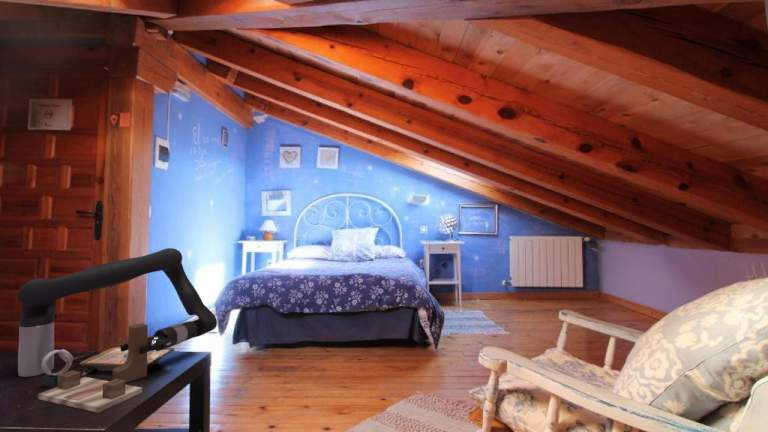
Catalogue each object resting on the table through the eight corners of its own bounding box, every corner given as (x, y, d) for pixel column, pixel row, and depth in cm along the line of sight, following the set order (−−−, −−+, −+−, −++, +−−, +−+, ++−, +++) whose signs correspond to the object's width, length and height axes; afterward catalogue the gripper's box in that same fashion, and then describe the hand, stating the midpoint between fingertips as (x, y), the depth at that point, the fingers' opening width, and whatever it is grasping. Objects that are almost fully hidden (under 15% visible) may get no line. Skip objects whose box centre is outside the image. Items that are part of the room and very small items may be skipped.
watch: (76, 380, 125) (76, 347, 125) (47, 390, 117) (47, 355, 117) (66, 377, 127) (66, 345, 127) (37, 387, 119) (37, 353, 119)
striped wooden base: (38, 399, 111) (38, 380, 111) (84, 381, 124) (84, 364, 124) (98, 412, 103) (98, 393, 103) (141, 392, 115) (141, 374, 116)
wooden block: (117, 385, 120) (117, 330, 121) (112, 382, 123) (112, 328, 123) (147, 376, 128) (148, 324, 128) (142, 373, 130) (142, 322, 130)
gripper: (157, 324, 143) (115, 337, 128) (185, 328, 139) (145, 341, 123) (156, 344, 143) (115, 358, 127) (185, 348, 138) (145, 363, 123)
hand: (130, 350), depth 125 cm, fingers open, 8 cm apart
